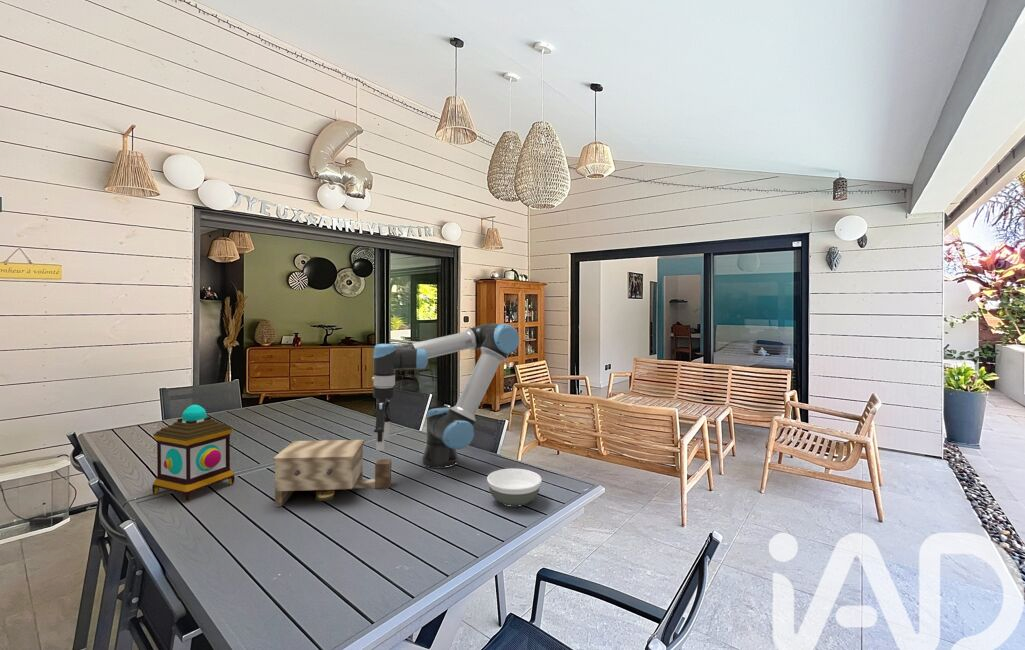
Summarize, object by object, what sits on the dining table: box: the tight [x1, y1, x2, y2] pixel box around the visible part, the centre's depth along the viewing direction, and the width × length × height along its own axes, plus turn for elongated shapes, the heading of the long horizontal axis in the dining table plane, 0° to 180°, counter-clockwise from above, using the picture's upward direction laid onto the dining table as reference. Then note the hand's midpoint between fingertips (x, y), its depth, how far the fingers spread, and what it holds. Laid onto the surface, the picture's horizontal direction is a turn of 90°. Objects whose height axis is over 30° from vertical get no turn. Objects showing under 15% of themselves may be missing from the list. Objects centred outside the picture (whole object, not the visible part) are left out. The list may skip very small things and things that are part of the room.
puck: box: [315, 489, 336, 502], centre depth 154 cm, size 6×6×2 cm
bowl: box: [486, 468, 543, 506], centre depth 153 cm, size 19×19×8 cm
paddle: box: [352, 458, 392, 490], centre depth 163 cm, size 27×5×9 cm, turn 98°
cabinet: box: [272, 439, 366, 507], centre depth 156 cm, size 25×20×16 cm
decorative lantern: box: [151, 404, 235, 502], centre depth 158 cm, size 20×20×30 cm
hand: (383, 444), depth 164 cm, fingers open, 13 cm apart
